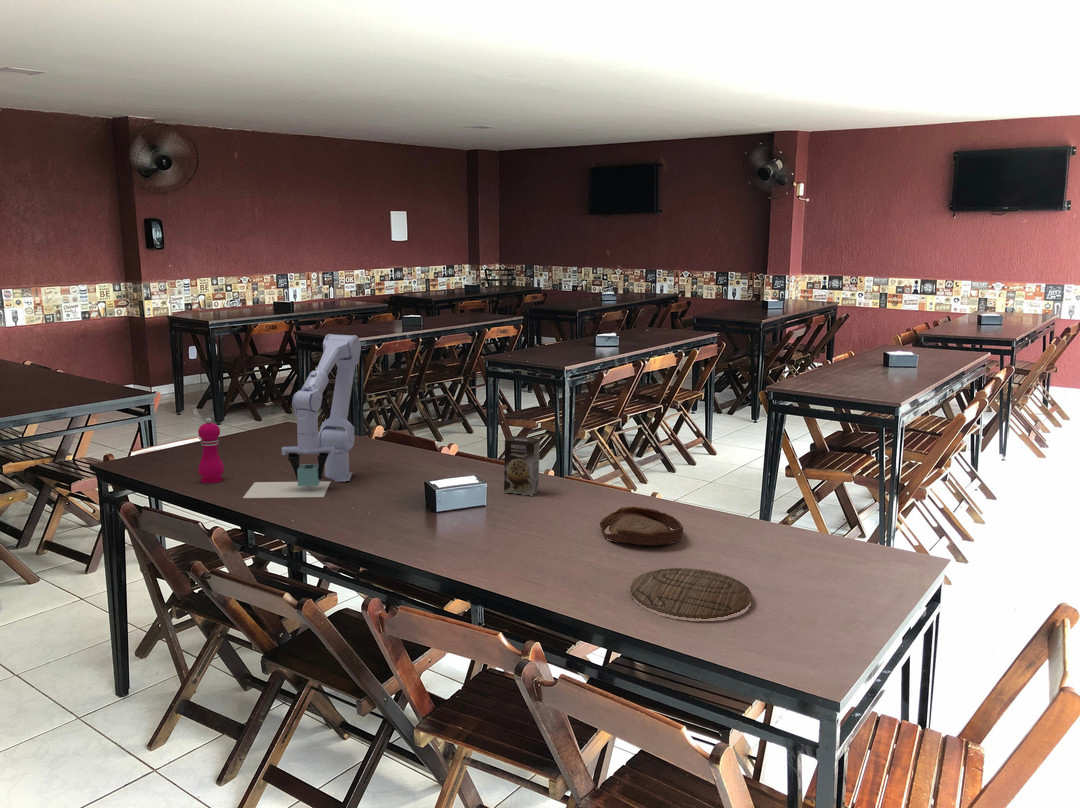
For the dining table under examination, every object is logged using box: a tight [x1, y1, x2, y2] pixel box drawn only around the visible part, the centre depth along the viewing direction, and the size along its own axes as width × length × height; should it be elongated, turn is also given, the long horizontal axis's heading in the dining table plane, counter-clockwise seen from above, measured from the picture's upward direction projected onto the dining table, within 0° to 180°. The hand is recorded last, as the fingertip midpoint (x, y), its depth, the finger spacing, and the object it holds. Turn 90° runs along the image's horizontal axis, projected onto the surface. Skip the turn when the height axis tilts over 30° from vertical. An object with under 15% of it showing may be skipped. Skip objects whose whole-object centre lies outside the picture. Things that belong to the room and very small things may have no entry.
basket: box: [599, 506, 684, 546], centre depth 224 cm, size 22×20×5 cm
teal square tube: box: [297, 463, 322, 486], centre depth 255 cm, size 6×6×5 cm
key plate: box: [242, 480, 332, 499], centre depth 255 cm, size 16×22×5 cm
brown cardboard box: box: [503, 435, 541, 496], centre depth 259 cm, size 9×6×16 cm
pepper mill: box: [197, 417, 225, 484], centre depth 262 cm, size 7×7×20 cm
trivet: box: [630, 567, 753, 619], centre depth 186 cm, size 25×25×2 cm
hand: (309, 478), depth 255 cm, fingers closed on teal square tube, 6 cm apart
